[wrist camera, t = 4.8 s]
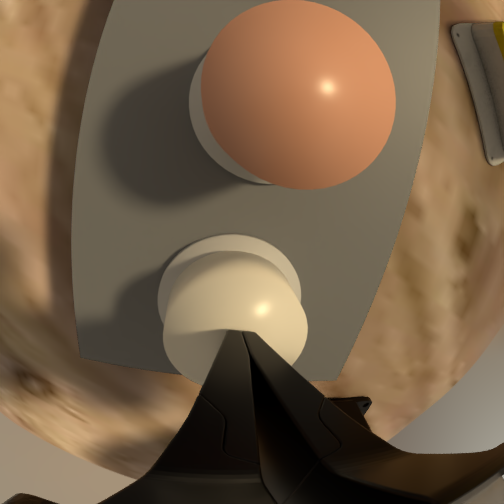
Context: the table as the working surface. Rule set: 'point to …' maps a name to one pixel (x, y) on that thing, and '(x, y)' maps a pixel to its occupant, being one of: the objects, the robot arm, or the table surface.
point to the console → (227, 184)
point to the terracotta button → (298, 94)
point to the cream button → (230, 310)
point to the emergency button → (485, 79)
